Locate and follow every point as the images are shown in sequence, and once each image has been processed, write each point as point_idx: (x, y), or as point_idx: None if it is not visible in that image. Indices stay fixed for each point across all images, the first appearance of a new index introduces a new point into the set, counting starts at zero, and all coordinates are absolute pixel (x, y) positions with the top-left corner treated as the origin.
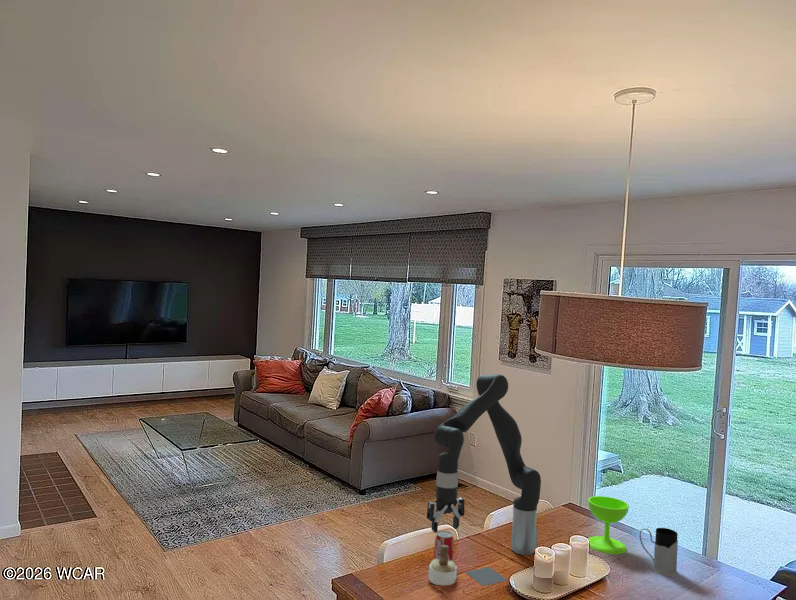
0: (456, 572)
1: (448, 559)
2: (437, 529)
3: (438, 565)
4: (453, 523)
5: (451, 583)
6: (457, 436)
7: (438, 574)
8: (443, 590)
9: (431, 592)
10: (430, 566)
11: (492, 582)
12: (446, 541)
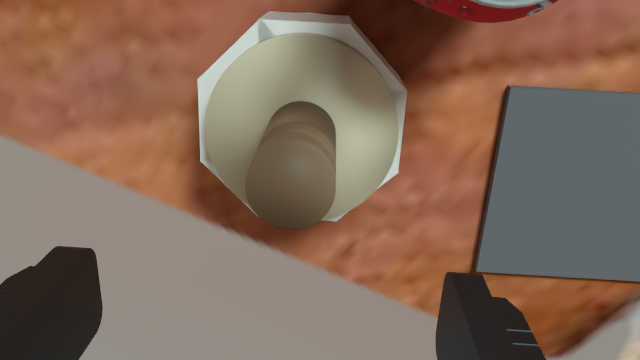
0: None
1: (388, 89)
2: (78, 355)
3: (246, 143)
4: (457, 313)
5: None
6: None
7: None
8: (242, 203)
9: (164, 192)
10: (208, 85)
11: (557, 266)
12: (454, 7)
